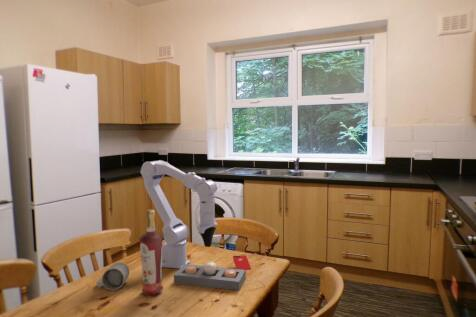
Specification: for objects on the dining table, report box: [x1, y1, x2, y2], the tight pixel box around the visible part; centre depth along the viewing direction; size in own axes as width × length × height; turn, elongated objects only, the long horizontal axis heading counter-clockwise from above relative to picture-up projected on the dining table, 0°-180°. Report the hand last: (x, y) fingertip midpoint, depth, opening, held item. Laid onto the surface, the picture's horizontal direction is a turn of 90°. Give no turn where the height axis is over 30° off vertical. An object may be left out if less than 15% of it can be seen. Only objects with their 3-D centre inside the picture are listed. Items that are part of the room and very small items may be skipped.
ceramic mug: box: [96, 261, 130, 291], centre depth 116 cm, size 11×8×8 cm
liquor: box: [139, 209, 164, 296], centre depth 110 cm, size 7×7×28 cm
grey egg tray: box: [173, 264, 247, 291], centre depth 119 cm, size 24×10×3 cm, turn 76°
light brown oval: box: [225, 270, 236, 278], centre depth 117 cm, size 4×4×3 cm
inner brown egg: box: [185, 266, 196, 274], centre depth 121 cm, size 4×4×3 cm
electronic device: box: [232, 254, 252, 271], centre depth 136 cm, size 6×1×15 cm
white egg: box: [204, 261, 217, 275], centre depth 119 cm, size 4×4×3 cm
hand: (207, 246), depth 128 cm, fingers closed
